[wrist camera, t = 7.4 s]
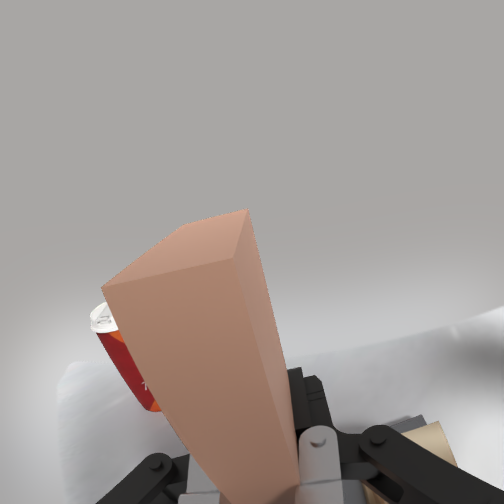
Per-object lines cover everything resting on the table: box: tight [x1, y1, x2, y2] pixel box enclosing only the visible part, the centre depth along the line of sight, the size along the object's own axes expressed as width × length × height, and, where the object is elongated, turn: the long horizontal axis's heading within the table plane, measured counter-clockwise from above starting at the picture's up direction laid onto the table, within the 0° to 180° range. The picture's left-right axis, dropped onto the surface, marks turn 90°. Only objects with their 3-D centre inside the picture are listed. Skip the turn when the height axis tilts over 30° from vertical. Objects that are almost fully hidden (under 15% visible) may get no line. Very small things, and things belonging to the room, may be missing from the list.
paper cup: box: [90, 302, 162, 412], centre depth 31 cm, size 8×8×14 cm
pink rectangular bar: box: [101, 209, 300, 504], centre depth 9 cm, size 6×2×20 cm, turn 179°
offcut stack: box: [362, 421, 458, 504], centre depth 11 cm, size 11×6×5 cm, turn 179°
